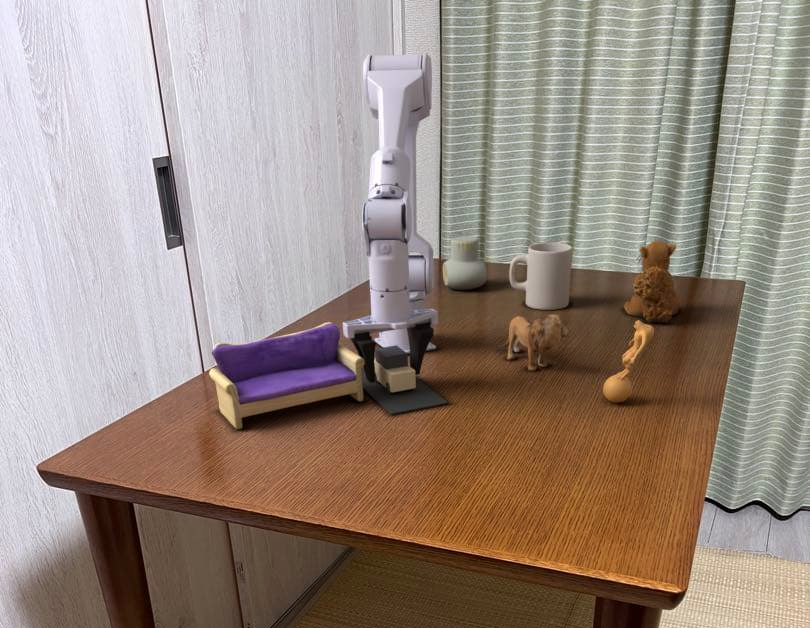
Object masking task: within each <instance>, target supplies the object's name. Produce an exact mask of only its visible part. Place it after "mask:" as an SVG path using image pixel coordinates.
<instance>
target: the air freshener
mask: <svg viewBox="0 0 810 628" xmlns="http://www.w3.org/2000/svg"><path fill="white" fill-rule="evenodd" d="M479 241H480V240H479V239H478V238H477V237H475V236H469V235H468V236H466V235H465V236H463V235H461V236H455V237H452V238H451V240H450V258H449V259H447V260H445V262H444V263H443V264H442V278H443V282H444V285H445V286H447V288H449V289H451V290H454V291H455V290H456V291H457V290H458V291H470V290H475V289H478V288H480V287H481V286H483V285H484V284H486V282H487V277H488V275H487V273H488V272H487V266H486V263H485V261H484V260H483V259H481V258H479V249H480V248H479V244H480V242H479Z"/></svg>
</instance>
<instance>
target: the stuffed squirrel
mask: <svg viewBox="0 0 810 628" xmlns="http://www.w3.org/2000/svg"><path fill="white" fill-rule="evenodd" d="M676 250H677V245H676V244H674V243H671V244H669V245H668V243H666V242H665V241H661V240H659V241H658V240H656V241H652V242H650V243H649V244H647V245H646V246H639V248H638V251H639V253H640V254H639V256H637V258H635V261H637V263H638V264H639V263H640V262H641V266H642V272H641V273H640V274H637V275H636V276H635V278H634V281H633V282H634V283H633V284H632V287H633V290H634V291H633V292H632V293H633V294H634V295H632V297H631V300H630V301H626V302H625V303H624V305H623V307H624V310H625V312H626V313H627V314H628V315H629V316H633V317H637V318H643V319H645V320H646V322H649V323H668V322H669V320H672V316H674V315H676V314H678V311H679V308H680V302H681V301H680V297H679V295H678V294H677V292H676V291H675V282H674V280H673V276H672V274H671V272H669V267H670V264H671V260H670V259H671V256H672V255H673V254H674V252H675V251H676Z"/></svg>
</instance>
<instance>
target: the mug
mask: <svg viewBox="0 0 810 628" xmlns="http://www.w3.org/2000/svg"><path fill="white" fill-rule="evenodd" d="M572 262H573V246H571V245H570V244H567V243H561V242H540V243H534V244H531V245H530V246H528V250H527V253H526V254H518V255H515V256H514V257H513V258H512V259H511V262H510V265H509V272H508V273H509V274H508V275H509V283H510V286H511V288H512V289H514V290H516V291H520V292H525V305H526V306H527V307H528V308H531V309H534V310H539V311H541V310H542V311H554V310H555V311H556V310H561V309H565V308H567V307H568V306H569V303H570V290H571V289H570V287H571V273H572ZM518 264H524V265H526V267H527V268H526V270H527V271H526V280H525V281H523V282H519V281H517V279H516V278H515V277H516V276H515V269H516V266H517V265H518Z"/></svg>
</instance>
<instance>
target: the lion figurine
mask: <svg viewBox="0 0 810 628" xmlns="http://www.w3.org/2000/svg"><path fill="white" fill-rule="evenodd" d="M568 332H569V327H568V326H567V325H564V323H563V322H562V320H561V319H560V315H559V314H555V313H554V314H547V315H545V316H541V317H539V318H538V319H534V320H532V322H531V323H530V322H529V321H528V319H527V318H525V317H524V316H517V315H516V316H515V317H514V318H512V319H511V321H510V323H509V327H508V339H507V340H506V341H505V343H502V344H501V345H499V346H498V347H499V348H500V349H505V348H507V356H506V357H507V360H509V361H512V360H514V359H515V355H514V353H513V351H514V352H515V353H520V352H521V349H522V348H520V347H519V345H520V344H521V345H522V346H523V347H525V348H527V356H528V357H527V358H528V366H527V367H528V368H527V369H528V371H529V372H535V371H537V367H536V363H535V358H536V353H538V359H537V362H538V363H537V364H538V366H540V367H542V368H546V367H547V366H548V363H547V362H546V361H545V356H546V354H547V353H549V352H551V351H552V348H555V347H556V346H557V345H558V344H559V343H560V342H561V340H565V337H566V335H568Z"/></svg>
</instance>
